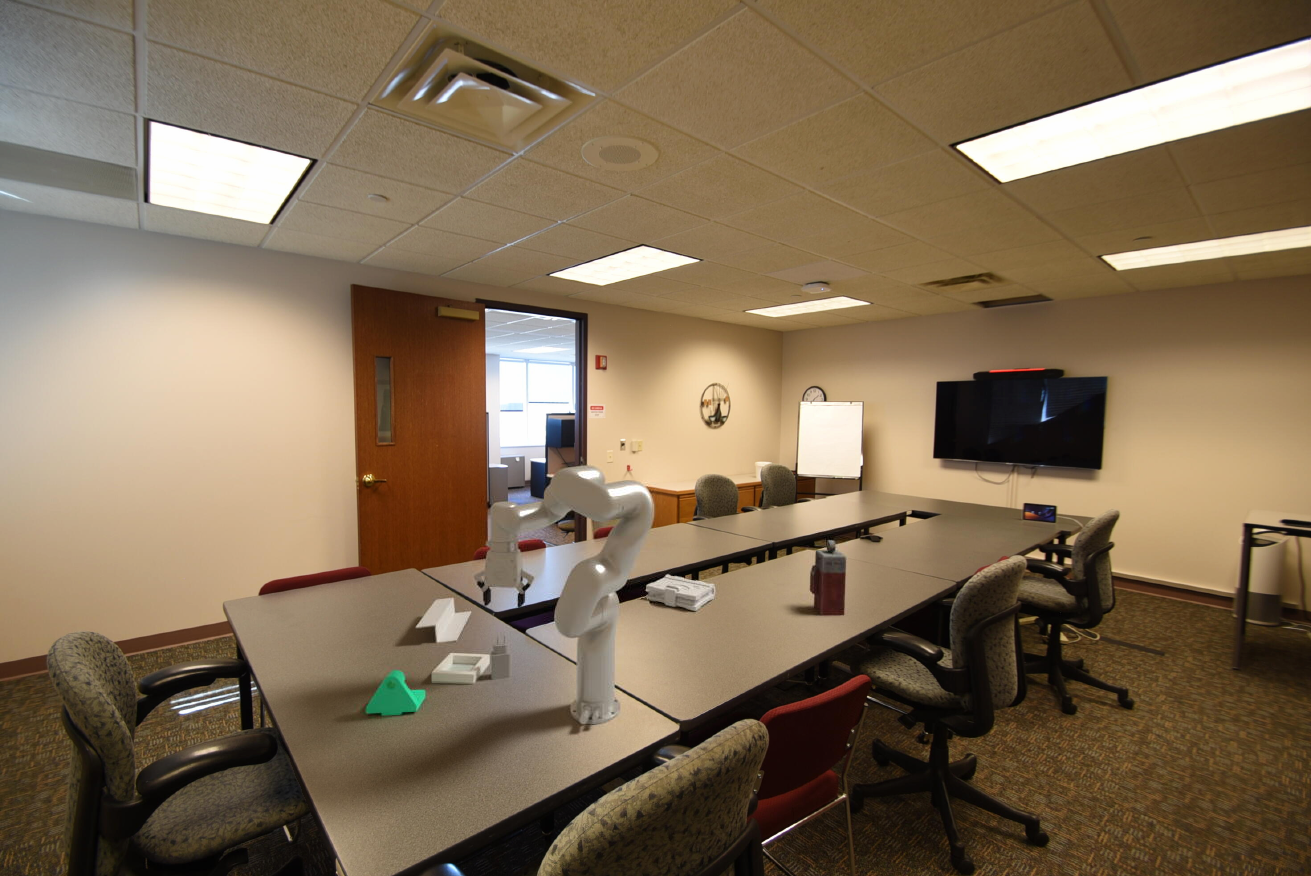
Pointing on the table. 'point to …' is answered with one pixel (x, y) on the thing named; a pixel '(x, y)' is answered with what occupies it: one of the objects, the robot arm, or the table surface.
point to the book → (680, 592)
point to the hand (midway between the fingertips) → (504, 604)
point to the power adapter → (500, 660)
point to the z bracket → (444, 620)
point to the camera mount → (395, 696)
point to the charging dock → (461, 668)
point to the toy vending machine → (829, 581)
